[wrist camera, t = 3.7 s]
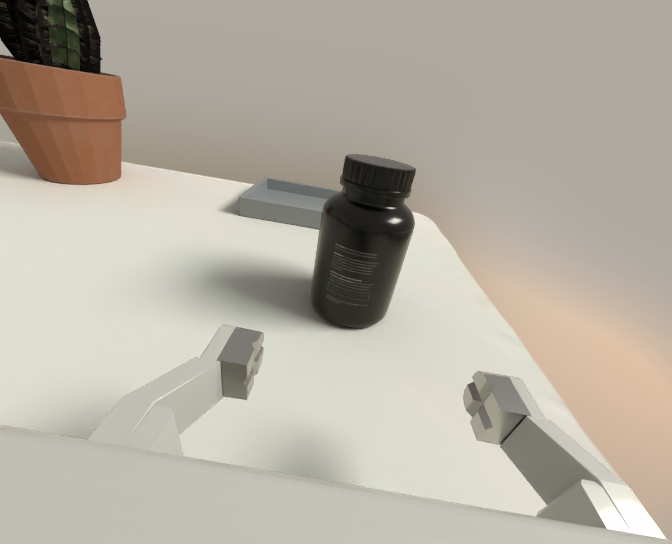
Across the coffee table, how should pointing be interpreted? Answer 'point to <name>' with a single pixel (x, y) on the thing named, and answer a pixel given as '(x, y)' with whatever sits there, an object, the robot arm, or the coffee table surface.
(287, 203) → the grey serving tray
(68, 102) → the potted plant
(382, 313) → the supplement bottle
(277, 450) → the coffee table surface
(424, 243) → the coffee table surface
